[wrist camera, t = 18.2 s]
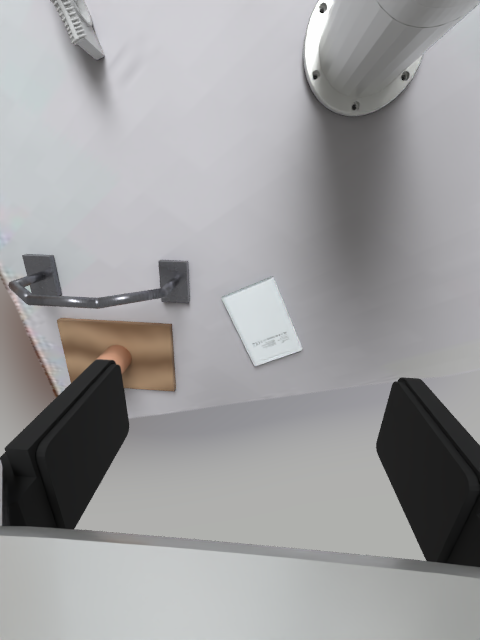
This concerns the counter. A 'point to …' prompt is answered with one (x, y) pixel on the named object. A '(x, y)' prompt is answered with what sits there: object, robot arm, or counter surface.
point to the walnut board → (137, 337)
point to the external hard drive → (262, 321)
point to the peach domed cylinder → (117, 356)
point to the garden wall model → (79, 25)
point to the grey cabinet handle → (48, 291)
